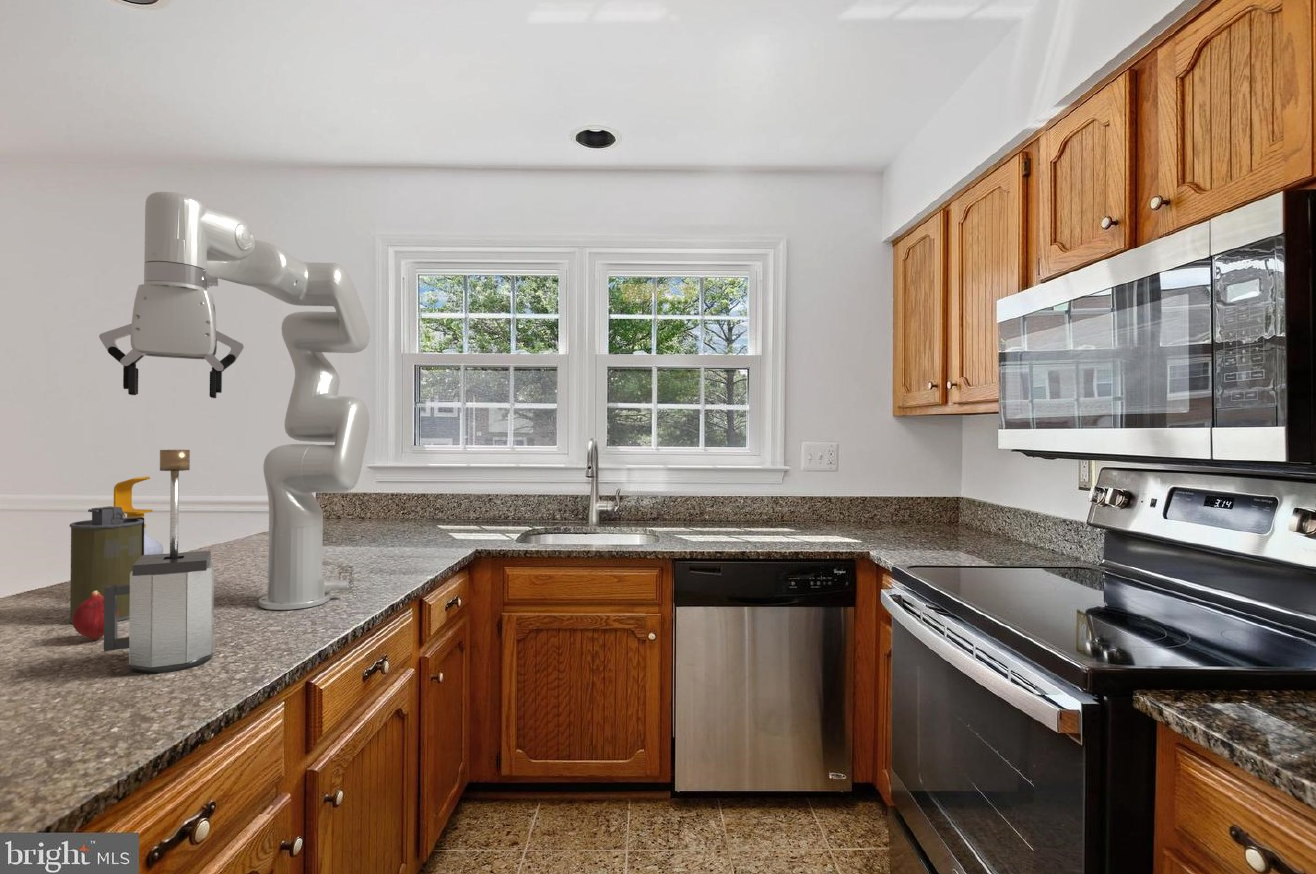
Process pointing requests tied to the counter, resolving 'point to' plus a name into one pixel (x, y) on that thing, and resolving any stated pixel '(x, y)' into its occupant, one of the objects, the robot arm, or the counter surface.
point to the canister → (104, 555)
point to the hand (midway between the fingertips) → (174, 396)
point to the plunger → (174, 489)
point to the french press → (165, 612)
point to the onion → (90, 617)
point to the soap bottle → (135, 511)
